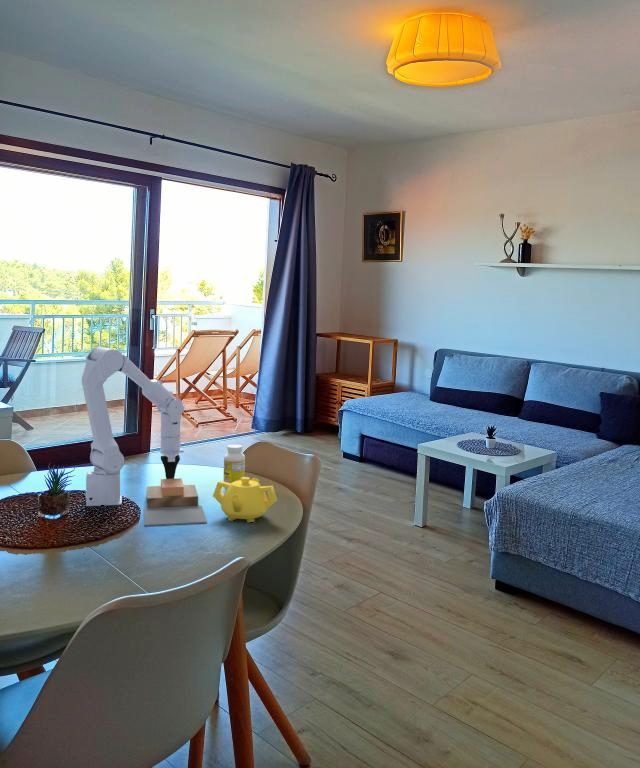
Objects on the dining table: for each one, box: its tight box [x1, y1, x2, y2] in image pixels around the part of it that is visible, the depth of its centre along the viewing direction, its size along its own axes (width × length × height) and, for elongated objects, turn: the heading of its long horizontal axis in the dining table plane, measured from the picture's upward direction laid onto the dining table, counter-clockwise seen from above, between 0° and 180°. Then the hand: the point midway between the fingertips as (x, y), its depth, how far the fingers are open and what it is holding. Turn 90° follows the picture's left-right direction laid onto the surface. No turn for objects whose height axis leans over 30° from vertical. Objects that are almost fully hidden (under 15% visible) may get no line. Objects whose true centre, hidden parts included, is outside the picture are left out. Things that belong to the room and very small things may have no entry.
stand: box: [146, 484, 199, 508], centre depth 200 cm, size 14×12×3 cm
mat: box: [143, 505, 208, 527], centre depth 188 cm, size 16×14×1 cm
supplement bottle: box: [223, 444, 246, 483], centre depth 218 cm, size 7×7×13 cm
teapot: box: [212, 476, 278, 523], centre depth 188 cm, size 20×18×11 cm
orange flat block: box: [160, 478, 184, 496], centre depth 200 cm, size 6×9×2 cm, turn 15°
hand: (170, 479), depth 211 cm, fingers closed
